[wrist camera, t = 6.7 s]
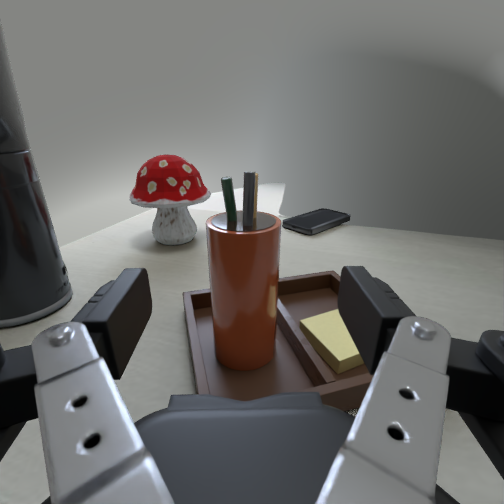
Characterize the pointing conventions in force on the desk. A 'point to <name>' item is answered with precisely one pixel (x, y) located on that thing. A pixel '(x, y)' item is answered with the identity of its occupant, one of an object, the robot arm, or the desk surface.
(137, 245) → the desk surface
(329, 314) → the note pad
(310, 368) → the divider
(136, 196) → the decorative mushroom
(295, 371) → the tray
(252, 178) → the pencil cup
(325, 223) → the phone
